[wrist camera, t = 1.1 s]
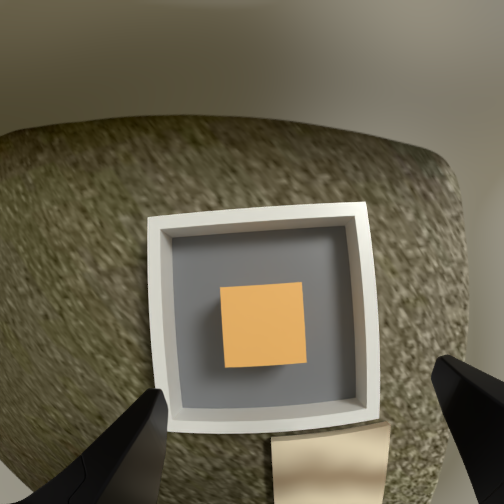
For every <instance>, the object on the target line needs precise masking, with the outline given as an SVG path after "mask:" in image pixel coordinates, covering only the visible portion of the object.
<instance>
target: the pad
mask: <svg viewBox="0 0 504 504" xmlns="http://www.w3.org/2000/svg"><path fill="white" fill-rule="evenodd" d="M389 440H390V424H389V423H388V422H387V421H385V422H380V423H375V424H370V425H365V426H360V427H354V428H348V429H341V430H335V431H328V432H320V433H311V434H302V435H291V436H277V437H271V449H272V467H273V487H274V504H382V500H383V493H384V486H385V479H386V471H387V462H388V451H389Z"/></svg>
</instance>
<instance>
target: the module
mask: <svg viewBox="0 0 504 504" xmlns="http://www.w3.org/2000/svg"><path fill="white" fill-rule="evenodd" d="M220 296H221V314H222V330H223V345H224V359H225V368H226V367H252V366H270V365H284V364H296V363H307V359H306V339H305V322H304V306H303V292H302V282H295V283H281V284H266V285H251V286H235V287H220Z"/></svg>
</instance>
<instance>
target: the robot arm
mask: <svg viewBox="0 0 504 504" xmlns="http://www.w3.org/2000/svg"><path fill="white" fill-rule="evenodd" d="M431 380H432V384H433V386H434V389H435V392H436V395H437V398H438V401H439V404H440V407H441V410H442V413H443V415H444V418H445V420H446V422H447V425H448V427H449V429H450V431H451V434H452V436H453V438H454V441H455V443H456V445H457V448H458V450H459V453H460V455H461V458H462V460H463V463H464V465H465V468H466V470H467V473H468V476H469V478H470V481H471V483H472V486H473V489H474V492H475V495H476V498H477V500H478V503H479V504H504V382H503V381H501V380H499V379H497V378H494V377H493V376H491V375H489V374H486V373H484V372H482V371H481V370H478V369H477V368H474V367H472V366H471V365H469V364H467V363H465V362H463V361H461V360H459V359H457V358H455V357H453V356H451V355H443V356H440V357H438V358H437V360H436V363H435V366H434V368H433V371H432V374H431ZM167 425H168V405H167V402H166V399H165V397H164V394H163V391H162V390H161V389H159V388H149V389H147V390H146V391H145V392H144V393H143V394H142V395H141V396H140V397H139V398H138V399H137V400H136V401H135V402H134V403H133V404H132V405H131V406H130V407H129V408H128V409H127V410H126V411H125V412H124V413H123V414H122V415H121V416H120V417H119V418H118V419H117V420H116V421H115V422H114V423H113V424H112V425H111V426H110V427H109V428H108V429H106V430H105V431H104V432H103V433H102V434H101V435H100V436H99V437H98V438H97V439H96V440H95V441H94V442H93V443H92V444H91V445H90V446H89V447H88V448H87V449H86V450H85V451H84V452H83V453H82V454H81V455H82V456H81V455H79V456H78V457H77V458H76V459H75V460H74V461H73V462H72V463H71V464H70V465H69V466H68V467H66V468H65V469H64V470H63V471H62V472H61V473H59V474H58V475H57V476H56V477H54V478H53V479H52V480H50V481H49V482H48V483H46V484H45V485H43V486H42V487H41V488H39V489H38V490H36V491H35V492H34V493H32V494H31V495H30V496H28V497H26V498H25V499H23V500H21V501H18V502H16V503H11V504H157V498H158V492H159V486H160V481H161V475H162V470H163V465H164V459H165V453H166V440H167Z"/></svg>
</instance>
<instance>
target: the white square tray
mask: <svg viewBox="0 0 504 504" xmlns="http://www.w3.org/2000/svg"><path fill="white" fill-rule="evenodd" d="M147 254H148V297H149V318H150V334H151V348H152V359H153V370H154V380H155V388H159V389H161V390H162V391H163V394H164V397H165V399H166V402H167V405H168V425H167V431H168V432H183V433H210V434H242V433H268V432H284V431H296V430H306V429H315V428H323V427H331V426H338V425H345V424H351V423H357V422H362V421H368V420H373V419H378V418H379V405H380V349H379V324H378V306H377V293H376V281H375V270H374V260H373V252H372V243H371V235H370V228H369V221H368V214H367V207H366V202H348V203H325V204H306V205H288V206H273V207H258V208H244V209H231V210H219V211H207V212H196V213H185V214H175V215H165V216H155V217H148V238H147ZM295 282H302V292H303V306H304V322H305V339H306V359H307V363H296V364H284V365H270V366H252V367H226V368H225V359H224V345H223V330H222V314H221V296H220V287H235V286H251V285H266V284H281V283H295Z"/></svg>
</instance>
